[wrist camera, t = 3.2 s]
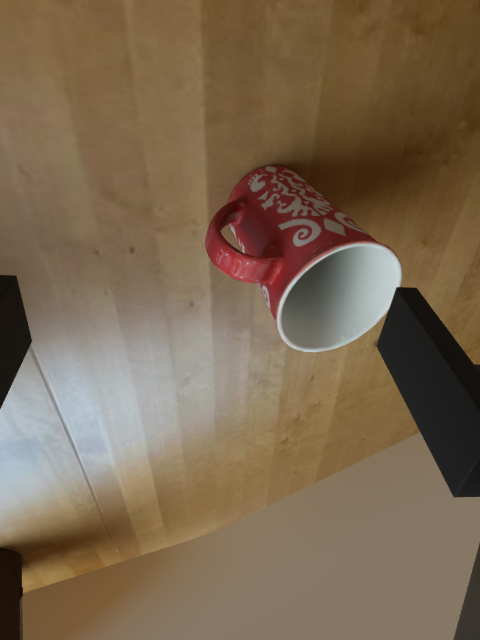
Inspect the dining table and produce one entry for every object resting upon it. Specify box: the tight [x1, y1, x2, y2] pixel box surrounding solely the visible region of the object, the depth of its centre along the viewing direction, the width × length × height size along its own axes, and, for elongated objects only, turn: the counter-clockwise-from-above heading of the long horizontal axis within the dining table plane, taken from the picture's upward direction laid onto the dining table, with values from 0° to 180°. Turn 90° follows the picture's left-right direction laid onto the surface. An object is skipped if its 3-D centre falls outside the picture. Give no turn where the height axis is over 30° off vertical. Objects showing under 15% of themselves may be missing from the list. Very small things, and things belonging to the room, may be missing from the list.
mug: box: [205, 165, 402, 352], centre depth 33 cm, size 13×9×14 cm
